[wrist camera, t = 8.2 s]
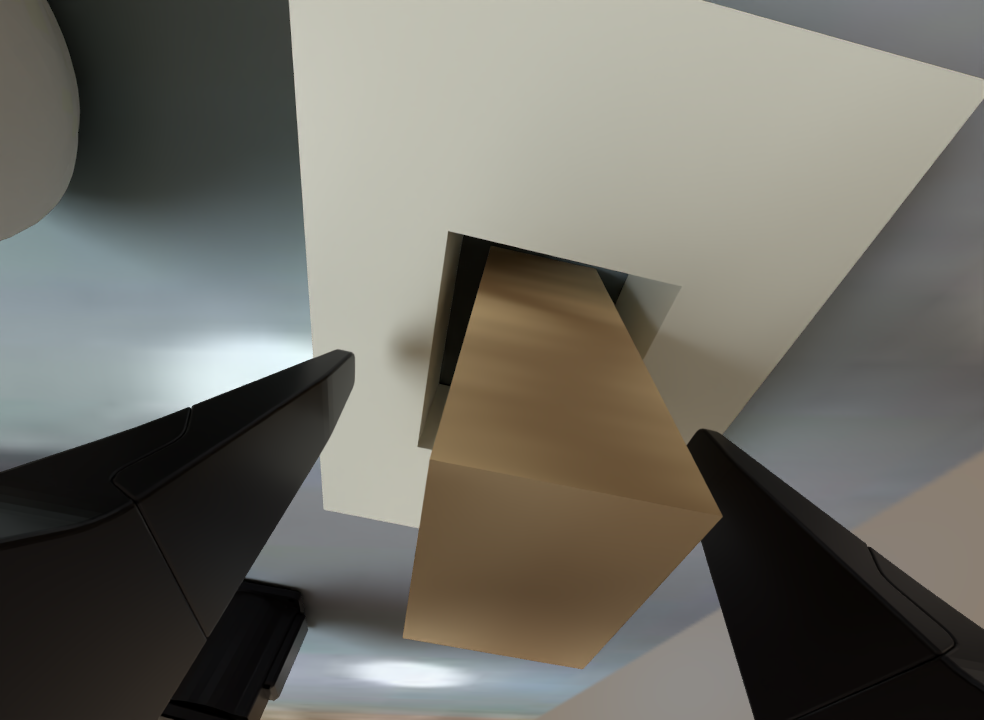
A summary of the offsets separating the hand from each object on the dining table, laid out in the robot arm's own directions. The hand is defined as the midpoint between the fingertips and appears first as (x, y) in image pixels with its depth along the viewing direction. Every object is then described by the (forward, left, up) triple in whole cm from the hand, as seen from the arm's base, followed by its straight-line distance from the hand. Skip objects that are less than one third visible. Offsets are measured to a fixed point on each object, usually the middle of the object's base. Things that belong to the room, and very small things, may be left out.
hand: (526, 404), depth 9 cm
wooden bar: (0, 0, -4) cm, 4 cm away
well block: (0, 0, -4) cm, 4 cm away
